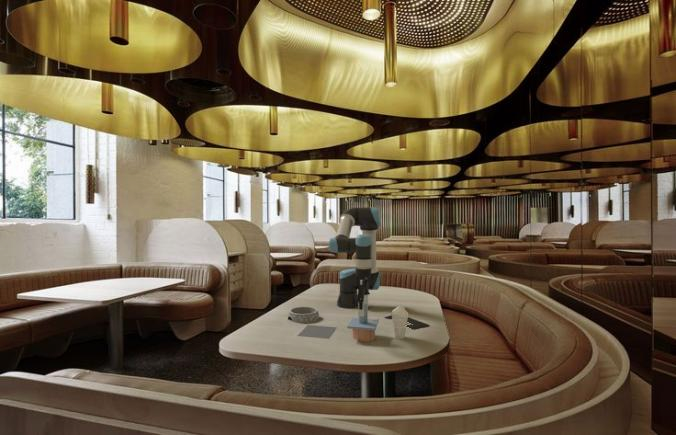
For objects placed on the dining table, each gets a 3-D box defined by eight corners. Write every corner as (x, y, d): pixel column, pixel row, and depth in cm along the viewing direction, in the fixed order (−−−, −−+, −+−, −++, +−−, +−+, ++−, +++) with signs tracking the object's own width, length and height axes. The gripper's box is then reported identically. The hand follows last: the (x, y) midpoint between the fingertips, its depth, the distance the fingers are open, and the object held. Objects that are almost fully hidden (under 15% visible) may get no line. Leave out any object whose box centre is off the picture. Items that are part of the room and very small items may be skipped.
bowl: (354, 332, 162) (354, 320, 162) (376, 334, 159) (376, 322, 159) (349, 340, 151) (349, 327, 151) (373, 342, 148) (373, 329, 148)
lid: (352, 319, 163) (352, 299, 163) (378, 321, 160) (378, 301, 160) (347, 328, 150) (347, 306, 150) (375, 330, 147) (375, 308, 147)
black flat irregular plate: (410, 332, 164) (430, 326, 172) (410, 331, 164) (430, 324, 172) (379, 319, 185) (398, 314, 193) (378, 317, 185) (398, 312, 193)
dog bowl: (309, 312, 195) (309, 304, 195) (325, 321, 180) (325, 311, 180) (283, 317, 186) (283, 308, 186) (297, 326, 171) (297, 316, 171)
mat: (307, 326, 171) (307, 324, 171) (337, 328, 167) (337, 327, 167) (297, 337, 155) (297, 335, 155) (329, 340, 152) (329, 338, 152)
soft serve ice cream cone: (398, 341, 149) (398, 307, 149) (387, 336, 157) (387, 303, 157) (412, 338, 153) (412, 305, 153) (401, 333, 161) (401, 301, 161)
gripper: (359, 263, 168) (359, 304, 168) (350, 271, 144) (350, 319, 144) (374, 264, 166) (374, 305, 166) (367, 272, 142) (367, 320, 142)
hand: (363, 311), depth 155 cm, fingers open, 13 cm apart
